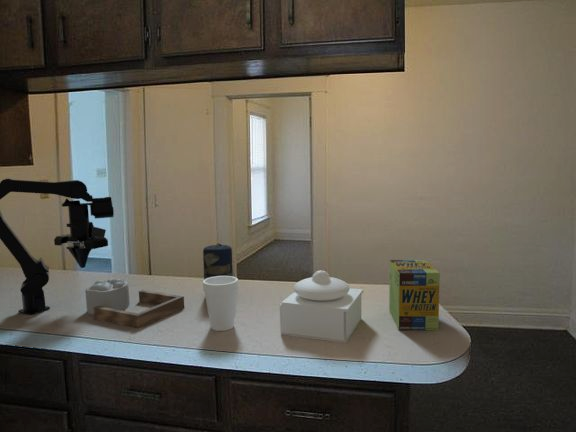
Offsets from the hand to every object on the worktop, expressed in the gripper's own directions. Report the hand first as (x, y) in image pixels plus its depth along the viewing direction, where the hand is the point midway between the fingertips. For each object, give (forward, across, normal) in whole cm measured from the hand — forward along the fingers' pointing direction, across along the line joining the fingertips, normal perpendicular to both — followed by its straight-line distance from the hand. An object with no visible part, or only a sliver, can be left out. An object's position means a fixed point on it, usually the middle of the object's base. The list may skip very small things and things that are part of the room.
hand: (82, 267), depth 146 cm
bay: (+12, -24, 0) cm, 26 cm away
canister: (+12, -36, -23) cm, 45 cm away
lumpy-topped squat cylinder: (+12, -12, 0) cm, 17 cm away
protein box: (+12, -99, -27) cm, 104 cm away
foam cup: (+12, -54, -1) cm, 55 cm away
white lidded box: (+12, -79, -12) cm, 81 cm away
